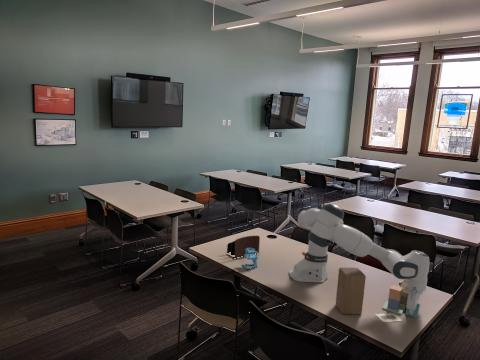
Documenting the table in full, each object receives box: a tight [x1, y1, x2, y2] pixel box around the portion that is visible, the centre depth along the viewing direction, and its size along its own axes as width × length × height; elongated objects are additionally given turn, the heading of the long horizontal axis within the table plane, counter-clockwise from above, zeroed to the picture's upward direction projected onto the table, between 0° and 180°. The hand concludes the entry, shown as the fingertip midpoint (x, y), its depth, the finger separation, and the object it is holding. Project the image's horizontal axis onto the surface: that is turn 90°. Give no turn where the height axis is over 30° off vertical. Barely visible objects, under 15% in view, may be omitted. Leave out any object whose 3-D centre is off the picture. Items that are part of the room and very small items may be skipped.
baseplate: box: [381, 297, 406, 316], centre depth 179 cm, size 9×9×6 cm
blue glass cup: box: [242, 248, 259, 270], centre depth 221 cm, size 8×8×12 cm
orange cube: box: [388, 284, 403, 301], centre depth 178 cm, size 5×5×5 cm
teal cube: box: [405, 302, 421, 319], centre depth 175 cm, size 5×5×5 cm
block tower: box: [399, 279, 410, 307], centre depth 193 cm, size 8×8×29 cm
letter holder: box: [226, 235, 261, 258], centre depth 242 cm, size 10×20×14 cm, turn 124°
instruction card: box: [374, 312, 403, 323], centre depth 170 cm, size 10×7×1 cm
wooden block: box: [335, 267, 367, 315], centre depth 174 cm, size 10×10×20 cm
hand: (412, 310), depth 175 cm, fingers closed on teal cube, 5 cm apart
